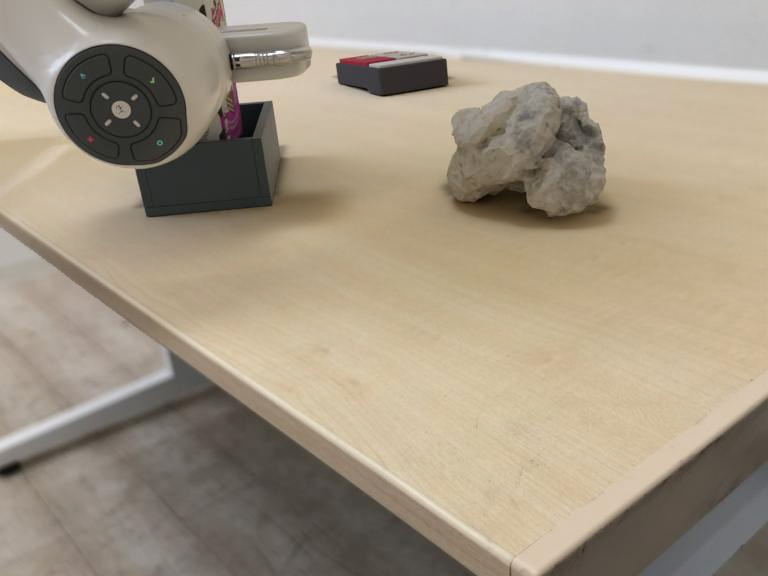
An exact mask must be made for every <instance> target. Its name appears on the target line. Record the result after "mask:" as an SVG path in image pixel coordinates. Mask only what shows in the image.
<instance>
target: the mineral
mask: <svg viewBox="0 0 768 576" xmlns="http://www.w3.org/2000/svg"><path fill="white" fill-rule="evenodd" d="M450 124H451V127H452V132H451V136H452V137H453V140H454V143H455V145H456V148H455V149H456V150H455V152H454V153H452V156H451V159H450V162H449V165H448V168H447V171H446V179H447V182H448V186H449V187H450V189H451V192H452V193H453V195H454V197H455V199H456V200H458V201H459V202H463V203H464V202H465V203H466V202H467V203H468V202H470V203H475V202H476V201H478V200H479V199H482V198H483V197H485V196H487V195H491V196H496V195H497V194H498V193H499V192H502V191H503V190H504V189H505V190H508V191H511V192H513V191H516V192H519V193H522V194H523V193H526V196H525V197H526V201H527V204H528V205H529V206H530V207H531V208H532V209H536V210H542V211H545V212H546V216H547V217H548V218H555V217H556V216H557V217H565V216H568V215H571V214H579V213H581V212H582V211H583V210H585V209H586V208H587V207H588V206H592V205H595V204H597V203H599V197H600V195H601V194H602V192H603V191H604V189H605V186H606V184H607V177H606V172H607V168H606V167H605V166H604V165H605V161H606V157H604V156H605V155H606V148H607V147H606V144H605V142H604V139H603V133H602V128H601V126H600V123H599V122H595V121H594V120H593V119H592V118H590V115H589V107H588V102H586V101H584V100H582V99H581V98H580V97H579V96H574V97H570V96H569V95H566V96H565V95H564V96H563V95H562V96H561V97H560V95H559V94H558V92H557V90H556V89H555V87H552V86H551V85H550V84H549V83H548V82H547V81H536V82H531V83H528V84H525V85H522V86H519V87H516V88H515V89H513V90H501V91H499V92H498V93H497V94H496V95H495V96H494V97H493V98H492V99H491V100H490V101H489V102H487V103H486V104H484V105H483V106H481V108H480V107H466V108H461V109H458V110H457V111H456V112H455V113H454V114H453V115H452V117H451V120H450Z"/></svg>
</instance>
